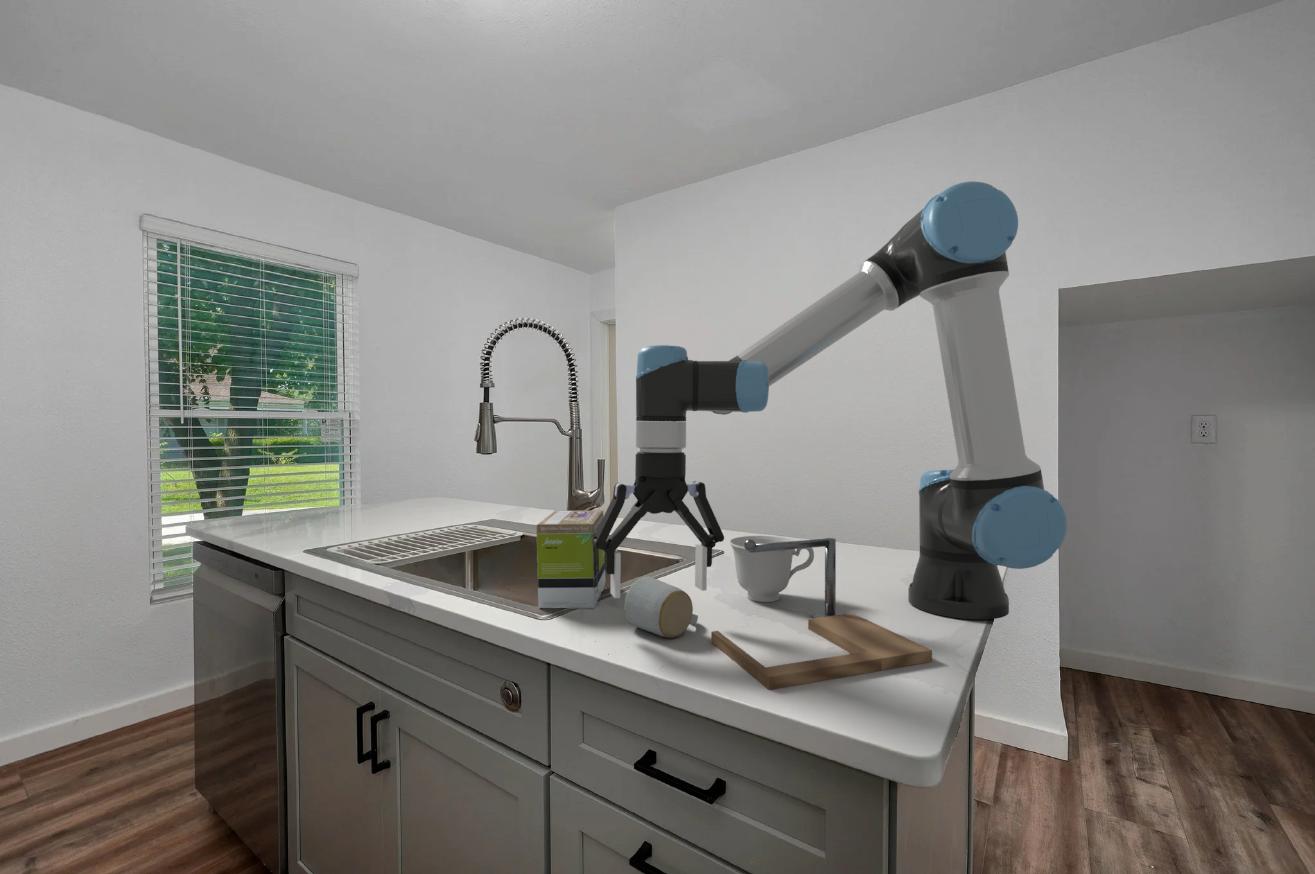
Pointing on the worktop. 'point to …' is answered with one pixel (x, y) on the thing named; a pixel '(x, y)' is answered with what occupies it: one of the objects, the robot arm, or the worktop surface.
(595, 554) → the tea box
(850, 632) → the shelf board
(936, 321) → the robot arm
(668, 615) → the ceramic mug
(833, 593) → the bent metal bar
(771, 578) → the teacup
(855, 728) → the worktop surface
